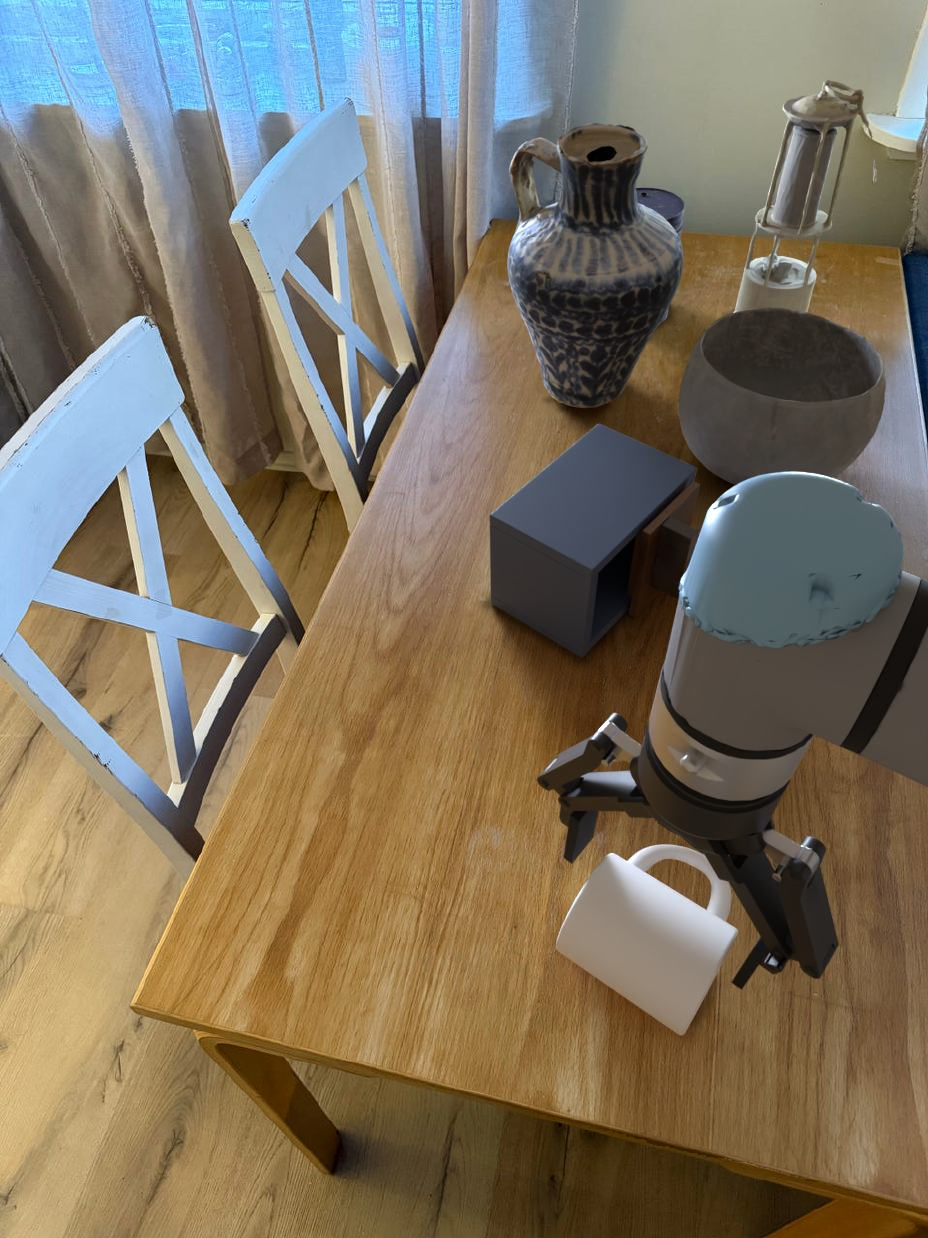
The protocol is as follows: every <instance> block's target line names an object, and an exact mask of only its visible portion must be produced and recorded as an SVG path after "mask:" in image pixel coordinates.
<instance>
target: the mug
mask: <svg viewBox="0 0 928 1238" xmlns="http://www.w3.org/2000/svg"><path fill="white" fill-rule="evenodd" d="M664 860H676V861H679V862H682V863H685V864H687V865H688V866H691V867H693V868H695V869H697V870H699V871H700V872H701V873H703V874H704V875H705V876H706V877H707V878H708V880H709V881H710V887H711V888H710V889H711V891H710V898H709V902H708V905H707V908H706V909H705V908H704V907H703V906H701V905H699V904H697V903H696V902H694V901H693V900H691V899H689V898H687V896H685V895H683V894H681V893H679V892H678V891H676V890H675V889H673V888H671V887H670V886H668V885H666V884H665V883H663V882H662V881H660V880H658V879H657V878H655V877H654V876H652V875H651V874H649V873H647V871H648V870H649V869H651V868H652V867H653V866H654V865H656V864H657V863H658V862H661V861H664ZM731 905H732V890H731V885H730V883H729V882H727V881H723V880H720V879H719V878H718V877H717V875H716V873H715V872H714V870H713V868H712V866H711V865H710V863H709V861H708V860H707V858H706V856H705V855H704V853H703V854H702V853H701V852H699V851H698V850H696V849H693V848H690V847H685V846H682V845H677V844H667V843H666V844H653V845H650V846H647V847H644V848H641V849H640V850H638V851H637V852H635V853H634V854H633V855H632V856H631V857H629V858H628V859H627V860H626V859H624V858H623V857H621V856H619V855H618V854H616V853H614V852H610V853H608V854H606V855H605V856H604V857H603V858H602V859H601V861H599V863H598V864H597V865H596V866H595V868H594V869H593V871H592V872H591V873H590V875H589V876H588V877H587V879H586V881H585V882H584V884H583V886H582V887H581V889H580V891H579V892H578V894H577V896H576V897H575V899H574V901H573V902H572V904H571V906H570V907H569V910H568V912H567V914H566V916H565V918H564V920H563V922H562V925H561V927H560V929H559V932H558V935H557V938H556V942H555V948H556V950H557V952H558V953H560V954H561V955H562V956H564V957H565V958H567V960H569V961H571V962H573V963H574V964H575V965H577V966H578V967H580V968H581V969H582V970H583V971H586V972H587V973H588V974H590V975H591V976H593V977H594V978H596V979H597V980H598V981H600V982H601V983H602V984H604V985H606V986H607V987H609V988H610V989H612V990H613V991H615V992H616V993H618V994H619V995H620V996H622V997H623V998H625V999H626V1000H627V1001H629V1002H631V1003H632V1004H633V1005H635V1006H636V1007H638V1008H639V1009H640V1010H642V1011H643V1012H645V1013H646V1014H648V1015H649V1016H651V1017H652V1018H654V1019H655V1020H657V1022H659V1023H661V1024H662V1025H664V1026H665V1027H667V1028H668V1029H670V1030H671V1031H673V1032H674V1033H675V1034H677V1035H678V1036H681V1037H682V1036H684V1035H685V1034H686V1032H687V1031H688V1029H689V1027H690V1026H691V1023H692V1022H693V1020H694V1018H695V1016H696V1014H697V1012H698V1010H699V1009H700V1007H701V1005H702V1003H703V1001H704V999H705V997H706V995H707V994H708V992H709V990H710V988H711V987H712V984H713V983H714V981H715V979H716V977H717V975H718V973H719V971H720V970H721V967H722V966H723V963H724V962H725V960H726V958H727V956H728V954H729V952H730V951H731V948H732V946H733V945H734V943H735V941H736V939H737V937H738V935H739V930H738V928H736V927H735V926H733V925H731V924H730V923H729V922H727V920H728V917H729V914H730V911H731V907H732V906H731Z"/></svg>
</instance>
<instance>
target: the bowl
mask: <svg viewBox="0 0 928 1238" xmlns="http://www.w3.org/2000/svg"><path fill="white" fill-rule="evenodd" d="M733 312H734V311H733ZM733 312H731V313H727V314H726V315H723V316H721V317H719V318H717V319H716V320H714V321H713V322H712V323H711V324H710V325H709V326H708V327H707V328H706V329H705V330H704V331H703V332H702V334H701V335H700V336H699V338H698V340H697V342H696V344H695V345H694V348H693V349H692V352H691V353H690V356H689V359H688V361H687V363H686V366H685V368H684V371H683V374H682V379H681V382H680V387H679V394H678V417H679V423H680V429H681V432H682V435H683V438H684V440H685V442H686V444H687V446H688V447H689V450H690V451H691V452H692V454H693V455H694V457H695V458H696V459H697V460H698V461H699V462H700V463H701V464H702V465H703V466H704V468H705V469H707V470H708V471H709V472H710V473H712V474H714V475H715V476H717V477H719V478H720V479H722V480H723V481H726V482H728V483H729V484H732V485H734V486H735V485H737V484H739V483H741V482H743V481H745V480H747V479H750V478H753V477H756V476H759V475H764V474H769V473H778V472H806V473H813V474H818V475H823V476H827V477H831V478H834V479H835V477H837V476H839V475H840V474H842V473H843V472H845V471H846V470H847V469H848V468H849V467H850V466H851V465H852V464H853V463H854V462H856V461H857V459H858V458H859V457H860V456H861V454H863V452H864V451H865V450H866V448H867V446H868V445H869V444H870V442H871V440H872V439H873V438H874V435H875V434H876V432H877V430H878V427H879V425H880V421H881V419H882V415H883V412H884V406H885V403H886V390H887V376H886V371H885V366H884V363H883V360H882V356H881V355H880V354H879V352H877V350H875V348H874V346H873V343H872V342H870V341H869V340H868V339H867V338H866V337H864V336H863V335H861V334H860V333H858V332H857V331H855V330H852V329H850V328H848V327H846V326H843V325H841V324H838V323H836V322H834V321H831V320H829V319H827V318H825V317H822V315H821V316H820V315H817V314H814V313H810V312H805V313H801V312H799V311H793V310H790V309H784V308H770V307H764V308H754V309H747V310H742V311H738V312H734V313H733Z"/></svg>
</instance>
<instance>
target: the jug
mask: <svg viewBox="0 0 928 1238" xmlns="http://www.w3.org/2000/svg"><path fill="white" fill-rule="evenodd" d="M648 145H649V142H648V141H647V139H646V138H645V137H644V136H643V135H642V134H639V133H638V131H636V130H635V128H633V127H630V126H629V125H623V124H620V123H619V124H611V123H599V122H590V123H585V124H583V125H580V126H573V128H571V129H570V130H568V131H566V132H565V133H564V134H561V135H560V136H559V137H558V139H557V144H555V143H553V142H552V141H551V140H549V139H546V138H543V137H536V138H533V139H531V140H529V141H528V140H527V141H525V142H524V143H522V144H521V145H520V146H519V147H518V148H517V150H516V152H515V153H514V154H513V157H512V159H511V161H510V164H509V168H508V176H509V179H510V182H511V186H512V188H513V192H514V193H515V197H516V202H517V206H518V210H519V217H518V221H517V224H516V228H515V231H514V235H513V236H512V238H511V241H510V244H509V248H508V252H507V275H508V280H509V285H510V289H511V293H512V295H513V299H514V302H515V305H516V307H517V309H518V313H519V315H520V316H521V318H522V320H523V322H524V325H525V326H526V327H525V328H526V330H527V332H528V335H529V338H530V341H531V343H532V347H533V350H534V352H535V355H536V357H537V360H538V363H539V366H540V372H541V377H542V381H543V386H544V388H545V389H546V391H547V392H548V393H549V395H550V396H551V398H552V399H554V400H556V401H557V402H558V403H560V404H564V405H566V406H569V407H572V408H582V409H587V408H597V407H598V408H599V407H601V406H603V405H605V404H608V403H610V402H612V401H614V400H616V399H617V398H618V397H619V396H621V394H622V393H623V391H624V390H625V389H626V386H627V384H628V382H629V380H630V378H631V376H632V374H633V371H634V370H635V367H636V365H637V363H638V361H639V359H640V357H641V356H642V354H643V353H644V350H645V349H646V346H647V344H648V343H649V341H650V340H651V338H652V336H653V335H654V333H655V331H656V330H657V328H658V327H659V326H660V324H661V323H660V321H661V320H662V318H663V317H664V315H665V313H666V311H667V309H668V310H669V307H670V306H671V304H672V302H673V299H674V298H675V296H676V294H677V291H678V290H679V289H678V288H679V285H680V283H681V279H682V275H683V271H684V270H683V269H684V250H683V245H682V239H681V237H680V238H679V236H678V234H677V232H676V231H675V229H674V228H673V227H672V226H671V225H670V223H669V222H668V221H667V220H666V219H665V218H664V217H662V216H661V215H660V214H658V213H657V212H655V211H654V210H652V209H651V208H648V207H646V206H644V205H642V204H639V203H638V202H637V195H636V188H637V181H638V178H639V176H640V174H641V169H642V165H643V161H644V158H645V155H646V152H647V149H648ZM533 158H536V159H538V161H540V162H542V163H544V164H546V165H547V166H549V167H551V168H552V169H554V170H555V171H557V172H559V174H560V175H561V178H562V189H561V195H560V198H559V200H557V202H555V203H552V204H550V205H547V206H544V207H542V206H541V205H540V201H539V196H538V191H537V190H538V189H537V185H536V182H535V178H534V164H535V162H534V160H533ZM659 323H660V324H659Z"/></svg>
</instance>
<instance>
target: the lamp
mask: <svg viewBox="0 0 928 1238" xmlns="http://www.w3.org/2000/svg"><path fill="white" fill-rule="evenodd" d="M834 88H836V89H837V90H840V91H844V92H846V93H848V94H849V95H848V94H844V93H841V92H839V91H837V90H835V89H834ZM864 100H865V96H864V91H863V90H862V89H853V88H851V87H850V86H848V85H847V84H844V83H841V82H839V81H834V80H831V79H825V80H823V82H822V87H821V91H820V92H819V93H817V94H812V95H811V94H810V95H801V96H797V97H794V98H790V99H788V100H786V101H784V103H783V105H782V111H783V112H784V114H785V116H786V118H787V122H786V124H785V128H784V131H783V136H782V139H781V144H780V148H779V152H778V155H777V158H776V163H775V168H774V170H773V175H772V178H771V183H770V186H769V190H768V193H767V198H766V199H767V200H766V203H765V206H764V207H762V208H761V209H759V210H758V211H757V213H756V215H755V222H756V223H755V225H754V228H753V234H752V236H751V238H750V243H749V249H748V253H747V258H746V261H745V265H744V268H743V273H742V278H741V283H740V286H739V290H738V293H737V298H736V304H735V307H734V311H733V312H732V313H734V312H738V311H742V310H747V309H754V308H764V307H770V308H784V309H790V310H793V311H799V312H801V313H805V312H807V313H809V312H808V311H809V307H810V303H811V299H812V295H813V292H814V288H815V285H816V282H817V280H816V279H817V273H816V270H815V269H814V268H813V266H814V262H815V259H816V255H817V252H818V251H817V250H818V248H819V244H820V240H821V236H822V235H824V234H826V233H827V232H828V231H830V230H831V228H832V226H833V221H832V220H833V219H832V218H833V212H834V210H835V206H836V202H837V198H838V194H839V188H840V186H841V185H840V184H841V178H842V175H843V170H844V168H845V167H844V166H845V161H846V158H847V155H848V150H849V146H850V141H851V135H852V131H853V127H854V123H855V119H856V117H857V116H859V117H860V120H861V121H862V123H863V125H864V126H865V128H866V129H868V134H869V137H870V140H871V141H872V140H873V133H872V130H871V128H870V123H869V121H868V119H867V116H866V115H865V114H866V113H865V110H864V107H863V106H864ZM839 127H840V128H841V127H843V129H845V137H844V141H843V147H842V151H841V156H840V161H839V165H838V170H837V174H836V179H835V183H834V187H833V192H832V197H831V200H830V206H829V211H828V214H827V213H826V212H825V211H823V210H821V209H819V208H820V204H821V200H822V195H823V192H824V187H825V185H826V184H825V183H826V178H827V176H828V172H829V168H830V167H829V166H830V162H831V158H832V154H833V149H834V144H835V142H836V137H837V135H838V133H839V130H838V128H839ZM791 135H792V137H791ZM790 138H791V141H790ZM789 141H790V144H789ZM788 145H789V146H788ZM788 147H789V148H788ZM787 150H788V151H787ZM875 158H876V157H875V156H873V166H872V167H873V168H872V169H873V176H872V177H873V178H872V183H871V184H872V185H875V184H876V181H877V174H878V173H877V167H876V161H875ZM858 161H859V162H860V161H861V159H858ZM780 175H781V176H780ZM779 178H780V181H779ZM778 182H779V183H778ZM778 184H779V185H778ZM777 187H778V189H777ZM776 191H777V192H776ZM775 196H776V199H775ZM774 199H775V204H773V202H774ZM758 228H760V229H761V230H763V231H764V232H766V233H767V234H769V235H771V236H773V237H774V238H773V245H772V249H771V252H770V254H769V255H768V256H761V257H758V258H755V259H752V258H753V253H754V248H755V246H754V245H755V241H756V238H757V237H756V236H757V233H758ZM813 237H814V243H813V246H812V251H811V254H810V257H809V261H808V263H806V262H804V261H802V260H799V259H797V258H794V257H789V256H784V255H783V256H782V255H778V251H779V247H780V244H781V239H782V238H787V239H803V240H804V239H807V240H808V239H811V238H813Z"/></svg>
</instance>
